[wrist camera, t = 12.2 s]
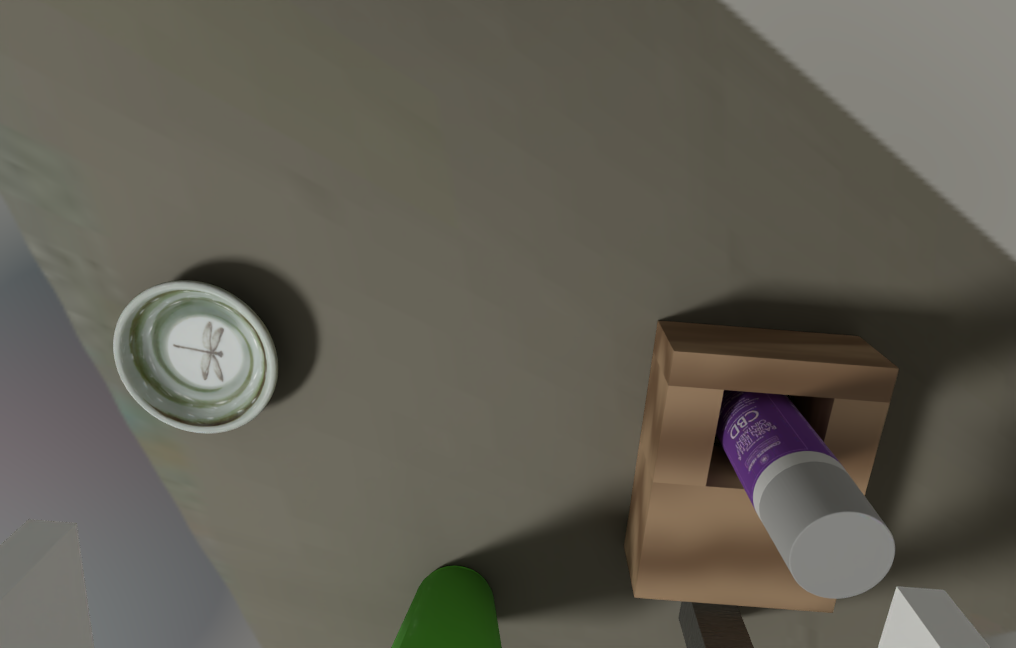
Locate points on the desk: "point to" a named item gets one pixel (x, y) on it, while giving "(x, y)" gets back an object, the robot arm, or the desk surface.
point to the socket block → (708, 471)
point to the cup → (451, 612)
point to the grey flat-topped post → (713, 626)
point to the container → (804, 496)
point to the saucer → (195, 356)
